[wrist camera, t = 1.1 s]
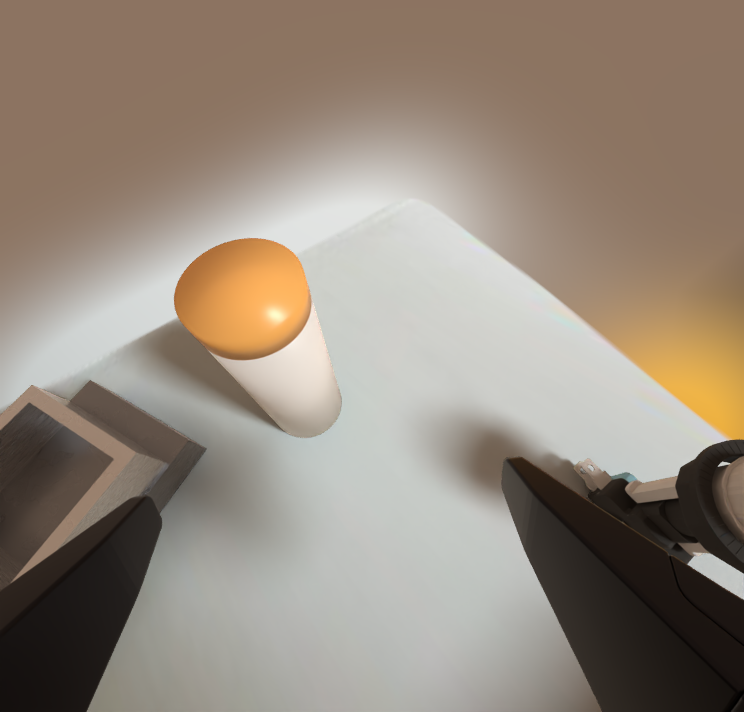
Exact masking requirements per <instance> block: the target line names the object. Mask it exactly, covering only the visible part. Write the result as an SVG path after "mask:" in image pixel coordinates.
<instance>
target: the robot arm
mask: <svg viewBox="0 0 744 712" xmlns="http://www.w3.org/2000/svg"><path fill="white" fill-rule="evenodd" d="M501 484H502V490H503V493H504V496H505V499H506V501H507V504H508V507H509V510H510V512H511V515H512V518H513V521H514V523H515V526H516V529H517V532H518V534H519V537H520V540H521V543H522V545H523V548H524V550H525V552H526V555H527V557H528V559H529V561H530V563H531V565H532V567H533V569H534V571H535V574H536V576H537V578H538V580H539V582H540V584H541V586H542V588H543V590H544V592H545V594H546V596H547V598H548V600H549V602H550V604H551V607H552V609H553V611H554V613H555V615H556V617H557V619H558V621H559V623H560V625H561V627H562V629H563V631H564V633H565V635H566V637H567V640H568V642H569V644H570V646H571V648H572V650H573V652H574V654H575V656H576V658H577V660H578V662H579V664H580V666H581V668H582V670H583V673H584V675H585V677H586V679H587V681H588V683H589V685H590V687H591V689H592V691H593V693H594V695H595V697H596V699H597V701H598V703H599V706H600V708H601V710H602V712H744V600H743V599H741V598H740V597H738V596H736V595H735V594H733V593H731V592H730V591H728V590H726V589H725V588H723V587H722V586H720V585H718V584H717V583H715V582H714V581H712V580H711V579H709V578H707V577H706V576H704V575H703V574H701V573H699V572H698V571H696V570H695V569H693V568H692V567H690V566H689V565H687V564H685V563H684V562H682V561H681V560H679V559H678V558H676V557H675V556H673V555H670V556H669V553H668V552H667V551H665V550H664V549H662V548H661V547H659V546H658V545H656V544H655V543H653V542H651V541H650V540H648V539H647V538H645V537H644V536H642V535H641V534H639V533H638V532H636V531H635V530H633V529H632V528H630V527H628V526H627V525H625V524H624V523H622V522H621V521H619V520H618V519H616V518H615V517H613V516H612V515H610V514H609V513H607V512H605V511H604V510H602V509H601V508H599V507H598V506H596V505H595V504H593V503H592V502H590V501H589V500H587V499H586V498H584V497H582V496H581V495H579V494H578V493H576V492H575V491H573V490H572V489H570V488H569V487H567V486H566V485H564V484H562V483H561V482H559V481H558V480H556V479H555V478H553V477H552V476H550V475H549V474H547V473H546V472H544V471H543V470H541V469H539V468H538V467H536V466H535V465H533V464H532V463H530V462H529V461H527V460H526V459H524V458H522V457H509V458H505V459H504V462H503V470H502V481H501ZM161 527H162V518H161V515H160V513H159V511H158V509H157V507H156V504H155V502H154V500H153V498H152V497H151V496H148V495H144V496H135V497H132V498H130V499H128V500H127V501H125V502H124V503H122V504H121V505H120V506H118V507H117V508H115V509H114V510H113V511H111V512H110V513H108V514H107V515H106V516H104V517H103V518H101V519H100V520H99V521H97V522H96V523H94V524H93V525H92V526H90V527H89V528H87V529H86V530H85V531H83V532H82V533H80V534H79V535H78V536H76V537H75V538H73V539H72V540H71V541H69V542H68V543H66V544H65V545H64V546H62V547H61V548H59V549H58V550H57V551H55V552H54V553H52V554H51V555H49V556H48V557H47V558H45V559H44V560H42V561H41V562H40V563H38V564H37V565H35V566H34V567H33V568H31V569H30V570H28V571H27V572H26V573H24V574H23V575H21V576H20V577H19V578H17V579H16V580H14V581H13V582H12V583H10V584H9V585H7V586H6V587H5V588H3V589H2V590H0V712H87V710H88V707H89V705H90V703H91V701H92V698H93V696H94V694H95V692H96V689H97V687H98V685H99V683H100V680H101V678H102V676H103V674H104V671H105V669H106V667H107V665H108V662H109V660H110V658H111V656H112V653H113V651H114V649H115V647H116V644H117V642H118V640H119V638H120V635H121V633H122V631H123V629H124V626H125V624H126V622H127V619H128V617H129V615H130V613H131V610H132V608H133V606H134V604H135V601H136V599H137V597H138V594H139V592H140V589H141V586H142V584H143V581H144V578H145V575H146V572H147V569H148V566H149V563H150V560H151V557H152V554H153V551H154V548H155V545H156V543H157V540H158V537H159V534H160V531H161Z"/></svg>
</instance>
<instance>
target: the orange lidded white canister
mask: <svg viewBox="0 0 744 712" xmlns="http://www.w3.org/2000/svg"><path fill="white" fill-rule="evenodd" d="M174 305H175V310H176V313H177V315H178V317H179V319H180V321H181V322H182V323H183V325H184V326H185V327H186V328H187V329H188V330H189V331H190V332H191V333H192V334H193V335H194V336H195V338H196V339H197V340H198V341H199V342H200V343H201V344H202V345H203V346H204V347H205V348H206V349H207V350H208V351H209V352H210V353H211V354H212V355H213V357H214V358H215V359H216V360H217V361H218V362H219V363H220V364H221V365H222V366H223V367H224V368H225V369H226V370H227V371H228V372H229V373H230V375H231V376H232V377H233V378H234V379H235V380H236V381H237V382H238V383H239V384H240V385H241V386H242V387H243V388H244V389H245V390H246V391H247V393H248V394H249V395H250V396H251V397H252V398H253V399H254V400H255V401H256V402H257V403H258V404H259V405H260V406H261V407H262V408H263V409H264V411H265V412H266V413H267V414H268V415H269V416H270V417H271V418H272V419H273V420H274V421H275V422H276V423H277V424H278V425H279V426H280V427H281V429H283V430H284V431H285V432H286V433H288V434H290V435H292V436H295V437H299V438H310V437H314V436H317V435H320V434H322V433H324V432H325V431H327V430H328V429H329V428H330V427H331V426H332V425H333V424H334V423H335V421H336V420H337V418H338V416H339V414H340V411H341V406H342V398H341V394H340V390H339V387H338V384H337V380H336V377H335V374H334V370H333V367H332V364H331V360H330V357H329V354H328V350H327V347H326V344H325V340H324V337H323V334H322V330H321V327H320V324H319V320H318V317H317V314H316V310H315V307H314V304H313V300H312V297H311V294H310V290H309V287H308V284H307V280H306V277H305V274H304V270H303V268H302V265H301V263H300V261H299V259H298V258H297V257H296V255H295V254H294V253H293V252H292V251H290V250H289V249H288V248H286V247H285V246H283V245H281V244H279V243H276V242H274V241H270V240H266V239H258V238H248V239H239V240H234V241H230V242H227V243H223V244H221V245H218V246H216V247H214V248H212V249H210V250H208V251H207V252H205V253H203V254H202V255H201V256H199V257H198V258H196V260H194V261H193V262H192V263H191V264H190V265H189V266H188V267H187V269H186V270H185V271H184V273H183V274H182V276H181V277H180V279H179V281H178V284H177V286H176V290H175V295H174Z"/></svg>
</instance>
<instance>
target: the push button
mask: <svg viewBox="0 0 744 712" xmlns="http://www.w3.org/2000/svg"><path fill="white" fill-rule="evenodd" d="M722 461H723V462H728V463H731V464H730V465H725V466H720V467H717V466H718V465H719V464H720V463H721V462H722ZM588 465H591V466H593V468H594V471H593V472H592V471H591V470H590V469H589V468H588ZM580 468H582V469H583V470H584V471H585V472H586V474H582V473H581V472H580ZM573 469H574V470H575V471H576V472H577V473H578V474H579V475H580V476H581V477H582V478H583V479H584V480H585V482H586V483H585V485H586V486H587V487H588V488H589V489H590V490H591V491H592V492H591V493H590V494H589V495H588V497H589V498H590V500H591V501H592V502H593V503H594V504H595V505H596V506H598V507H599V508H601V509H602V510H604V511H605V512H607V513H609V514H610V515H612V516H613V517H615V518H616V519H618V520H619V521H621V522H622V523H624V524H625V525H627V526H628V527H630V528H632V529H633V530H635V531H636V532H638V533H639V534H641V535H642V536H644V537H645V538H647V539H648V540H650V541H651V542H653V543H655V544H656V545H658V546H659V547H661V548H662V549H664V550H665V551H667V552H668V553H669V556H670V555H673V556H675V557H676V558H678V559H679V560H681V561H682V562H684V563H685V564H688V563H689V561H690V560H691V559H692V558H693V557H694V556H700V555H702V553H711V554H713V555H714V556H716V557H718V558H719V559H721V560H723V561H724V562H726V563H727V564H729V565H731V566H732V567H734V568H736V569H737V570H739V571H740V572H742V573H744V440H729V441H724V442H721V443H717V444H714V445H712V446H709V447H707V448H706V449H704V450H703V451H702V452H701V453H700V454H699V455H698V456H697V457H696V459H694V460H693V461H691V462H689V463H687V464H685V465H684V466H682V467H681V468H680V471H679V474H678V476H675V477H670V478H665V479H660V480H655V481H651V482H646V483H642V482H640V481H639V480H638V479H636V478H635V477H634V476H633V475H632V474H630V473H627V472H625V473H622V474H619V475H615V476H610V475H609V474H608V473H607V472H606V471H604V472H602V471H601V470H600V469H599V468H598V467H597V466H596V465H595V464H594V463H593V462H592V461H591V460H590V459H586V460H585V461H584V462H581V461H580V462H579V463H578V464H576V465H575V466H574V467H573Z"/></svg>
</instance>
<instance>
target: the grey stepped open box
mask: <svg viewBox="0 0 744 712" xmlns="http://www.w3.org/2000/svg"><path fill="white" fill-rule="evenodd" d="M205 450H206V448H204V447H203V446H201V445H199V444H198V443H196V442H195V441H193V440H191V439H190V438H188V437H186V436H185V435H183V434H181V433H180V432H178V431H176V430H175V429H173V428H171V427H170V426H168V425H166V424H165V423H163V422H161V421H160V420H158V419H156V418H155V417H153V416H151V415H150V414H148V413H146V412H145V411H143V410H141V409H140V408H138V407H137V406H135V405H133V404H132V403H130V402H128V401H127V400H125V399H123V398H122V397H120V396H118V395H117V394H115V393H113V392H111V391H109V390H107V389H106V388H104V387H102V386H100V385H98V384H96V383H94V382H92V381H91V380H90V381H89V382H88V383H87V384H86V385H85V386H84V387H83V388H82V389H81V390H80V391H79V392H78V393H77V394H76V396H75V397H74V398H73V399H72V400H71V401H68V400H66V399H63V398H61V397H59V396H56V395H54V394H52V393H49V392H47V391H45V390H43V389H40V388H38V387H36V386H33V385H31V386H30V387H29V388H28V389H27V390H26V391H25V392H24V393H23V394H22V395H21V396H20V397H19V398H18V399H17V400H16V401H15V402H14V403H13V404H12V405H11V406H10V407H8V408H7V409H6V410H5V411H4V412H3V413H2V414H1V415H0V590H2V589H3V588H5V587H6V586H7V585H9V584H10V583H12V582H13V581H14V580H16V579H17V578H19V577H20V576H21V575H23V574H24V573H26V572H27V571H28V570H30V569H31V568H33V567H34V566H35V565H37V564H38V563H40V562H41V561H42V560H44V559H45V558H47V557H48V556H49V555H51V554H52V553H54V552H55V551H57V550H58V549H59V548H61V547H62V546H64V545H65V544H66V543H68V542H69V541H71V540H72V539H73V538H75V537H76V536H78V535H79V534H80V533H82V532H83V531H85V530H86V529H87V528H89V527H90V526H92V525H93V524H94V523H96V522H97V521H99V520H100V519H101V518H103V517H104V516H106V515H107V514H108V513H110V512H111V511H113V510H114V509H115V508H117V507H118V506H120V505H121V504H122V503H124V502H125V501H127V500H128V499H130V498H132V497H135V496H144V495H148V496H151V497H152V498H153V500H154V502H155V504H156V507H157V509H158V511H159V513H160V512H161V511H162V509H163V508H164V507H165V505H166V504H167V502H168V501H169V500H170V498H171V497H172V496H173V494H174V493H175V491H176V490H177V489H178V487H179V486H180V485H181V483H182V482H183V481H184V479H185V478H186V476H187V475H188V474H189V472H190V471H191V470H192V468H193V467H194V465H195V464H196V463H197V461H198V460H199V459H200V457H201V456H202V455H203V453H204V452H205Z"/></svg>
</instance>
